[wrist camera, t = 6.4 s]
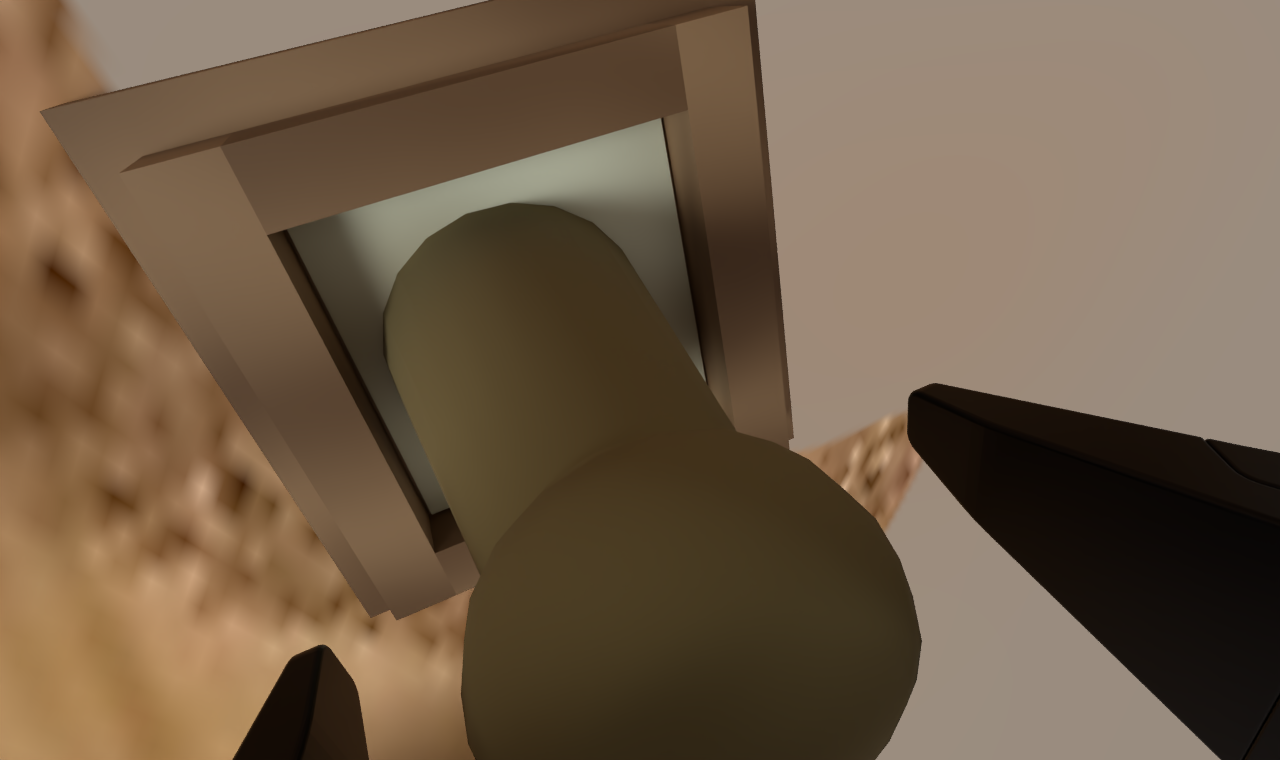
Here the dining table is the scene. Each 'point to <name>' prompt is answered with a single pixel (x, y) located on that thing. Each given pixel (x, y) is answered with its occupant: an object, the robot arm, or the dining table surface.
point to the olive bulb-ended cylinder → (632, 521)
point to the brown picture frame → (438, 225)
